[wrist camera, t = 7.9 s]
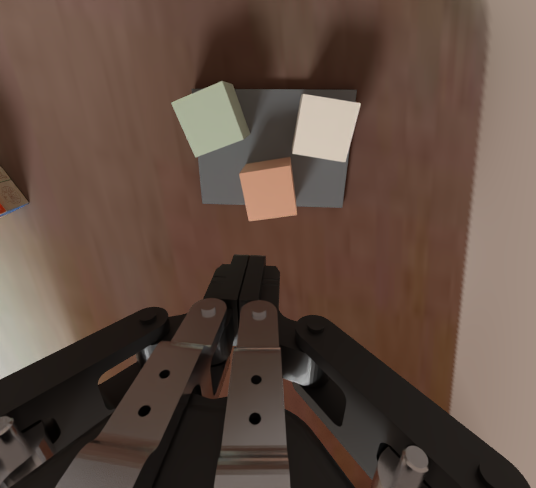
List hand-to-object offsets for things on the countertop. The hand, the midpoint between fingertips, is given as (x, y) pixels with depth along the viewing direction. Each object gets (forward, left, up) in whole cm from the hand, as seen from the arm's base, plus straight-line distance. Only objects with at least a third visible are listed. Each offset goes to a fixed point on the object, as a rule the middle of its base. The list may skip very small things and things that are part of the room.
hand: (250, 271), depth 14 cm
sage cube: (-6, -5, -18) cm, 19 cm away
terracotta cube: (0, 0, -18) cm, 18 cm away
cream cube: (-5, +5, -18) cm, 19 cm away
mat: (-3, 0, -19) cm, 19 cm away
